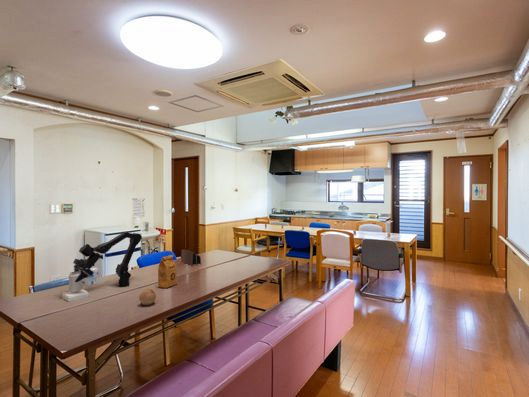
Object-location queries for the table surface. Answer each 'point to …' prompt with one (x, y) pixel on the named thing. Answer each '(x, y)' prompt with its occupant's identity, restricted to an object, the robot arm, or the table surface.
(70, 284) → the can
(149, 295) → the onion
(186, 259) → the letter holder
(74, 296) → the stand
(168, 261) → the coffee package
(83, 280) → the light bulb box
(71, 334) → the table surface
